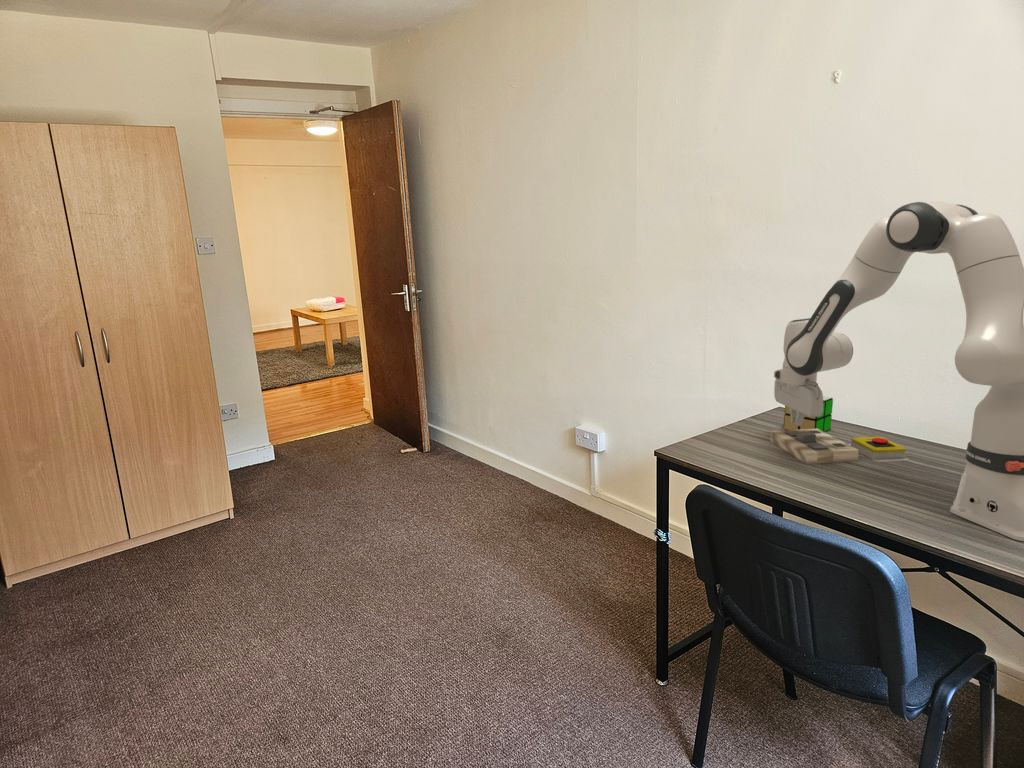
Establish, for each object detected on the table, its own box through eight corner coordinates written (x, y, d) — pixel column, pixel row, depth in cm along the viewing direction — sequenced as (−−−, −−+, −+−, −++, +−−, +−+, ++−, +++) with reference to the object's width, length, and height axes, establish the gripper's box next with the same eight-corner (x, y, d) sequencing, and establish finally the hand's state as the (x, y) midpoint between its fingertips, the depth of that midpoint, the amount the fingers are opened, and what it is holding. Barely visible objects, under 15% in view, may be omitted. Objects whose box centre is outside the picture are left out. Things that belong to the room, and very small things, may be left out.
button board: (857, 460, 175) (858, 448, 174) (806, 463, 173) (807, 451, 173) (816, 438, 194) (817, 427, 193) (770, 440, 193) (771, 429, 192)
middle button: (815, 445, 182) (816, 435, 181) (802, 446, 181) (803, 435, 181) (808, 441, 185) (809, 431, 184) (795, 442, 185) (796, 431, 184)
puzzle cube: (799, 423, 210) (801, 392, 208) (831, 429, 202) (833, 397, 200) (782, 429, 204) (784, 397, 202) (814, 436, 196) (817, 403, 194)
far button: (803, 444, 188) (804, 434, 187) (791, 445, 187) (791, 434, 187) (796, 440, 191) (797, 430, 191) (784, 441, 191) (785, 431, 190)
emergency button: (878, 447, 173) (845, 431, 187) (876, 463, 174) (844, 446, 188) (912, 446, 173) (877, 430, 188) (910, 462, 174) (876, 444, 189)
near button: (826, 458, 176) (827, 447, 175) (813, 459, 176) (814, 448, 175) (819, 454, 180) (820, 443, 179) (806, 454, 179) (807, 444, 179)
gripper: (831, 383, 175) (828, 434, 178) (791, 369, 195) (789, 415, 198) (808, 384, 174) (805, 435, 177) (771, 370, 194) (769, 416, 197)
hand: (796, 424), depth 188 cm, fingers closed
